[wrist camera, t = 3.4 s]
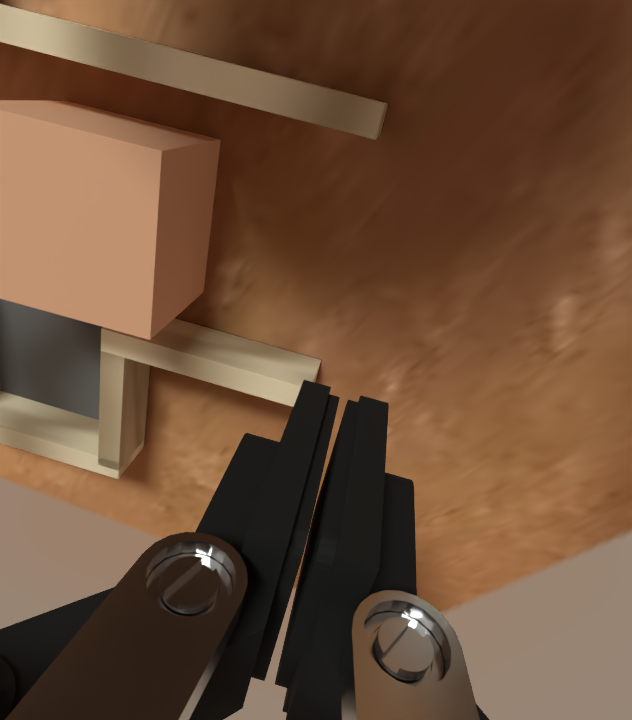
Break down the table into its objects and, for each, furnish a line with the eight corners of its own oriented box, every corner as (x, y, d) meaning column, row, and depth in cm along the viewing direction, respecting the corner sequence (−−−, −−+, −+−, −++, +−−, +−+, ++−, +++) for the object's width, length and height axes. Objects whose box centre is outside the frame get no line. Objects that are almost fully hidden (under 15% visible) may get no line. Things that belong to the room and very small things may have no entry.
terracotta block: (221, 139, 19) (161, 151, 14) (204, 291, 21) (150, 340, 17) (67, 100, 19) (-39, 100, 15) (70, 255, 22) (-17, 293, 17)
